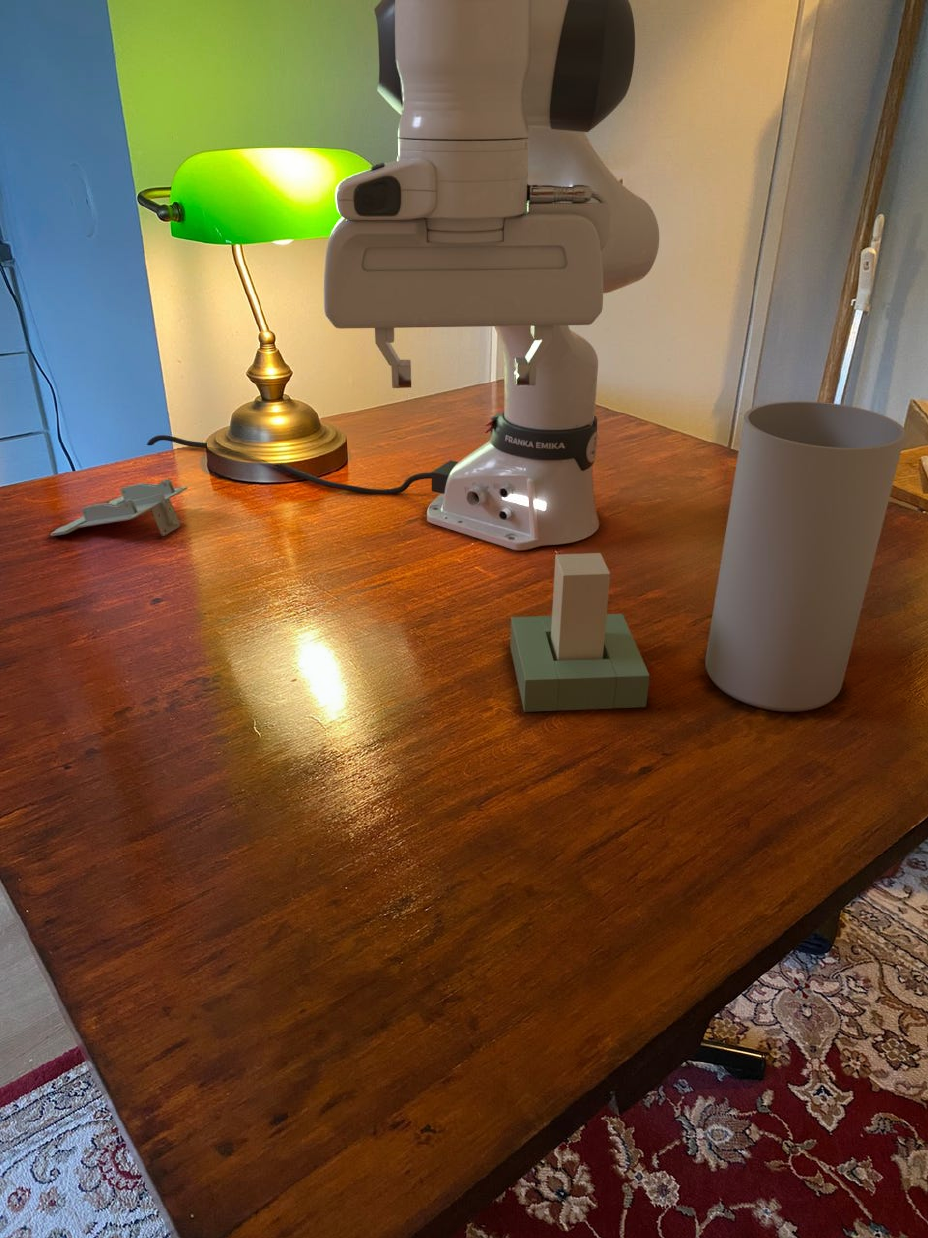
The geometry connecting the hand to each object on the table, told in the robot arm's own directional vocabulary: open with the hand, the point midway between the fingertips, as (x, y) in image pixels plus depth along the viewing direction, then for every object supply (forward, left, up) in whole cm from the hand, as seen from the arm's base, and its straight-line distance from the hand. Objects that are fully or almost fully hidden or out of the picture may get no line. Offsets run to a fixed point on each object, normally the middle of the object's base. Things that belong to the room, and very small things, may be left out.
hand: (463, 385), depth 69 cm
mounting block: (+8, +8, -29) cm, 31 cm away
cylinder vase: (+25, +16, -29) cm, 42 cm away
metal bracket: (-56, +16, -29) cm, 65 cm away
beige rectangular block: (+8, +8, -29) cm, 31 cm away
